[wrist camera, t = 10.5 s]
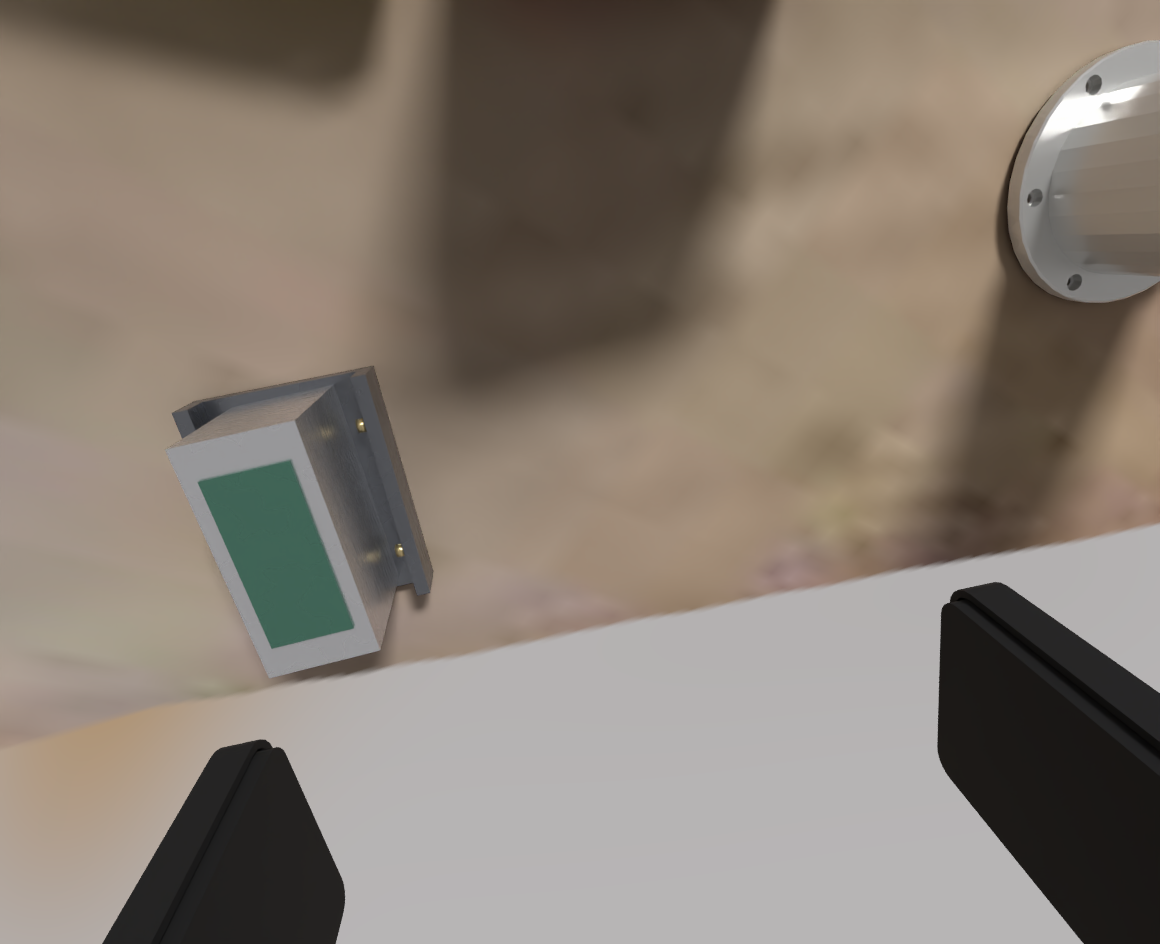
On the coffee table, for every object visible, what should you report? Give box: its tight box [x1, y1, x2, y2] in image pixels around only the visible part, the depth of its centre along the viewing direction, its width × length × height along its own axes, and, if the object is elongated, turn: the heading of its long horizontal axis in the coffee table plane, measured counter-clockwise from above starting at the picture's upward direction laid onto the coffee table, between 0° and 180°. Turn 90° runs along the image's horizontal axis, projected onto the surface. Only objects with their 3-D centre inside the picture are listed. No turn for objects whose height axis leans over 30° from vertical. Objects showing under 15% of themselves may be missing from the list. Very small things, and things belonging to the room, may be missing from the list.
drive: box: [165, 385, 399, 678], centre depth 30 cm, size 5×11×7 cm, turn 11°
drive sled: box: [172, 366, 433, 596], centre depth 33 cm, size 9×12×2 cm
